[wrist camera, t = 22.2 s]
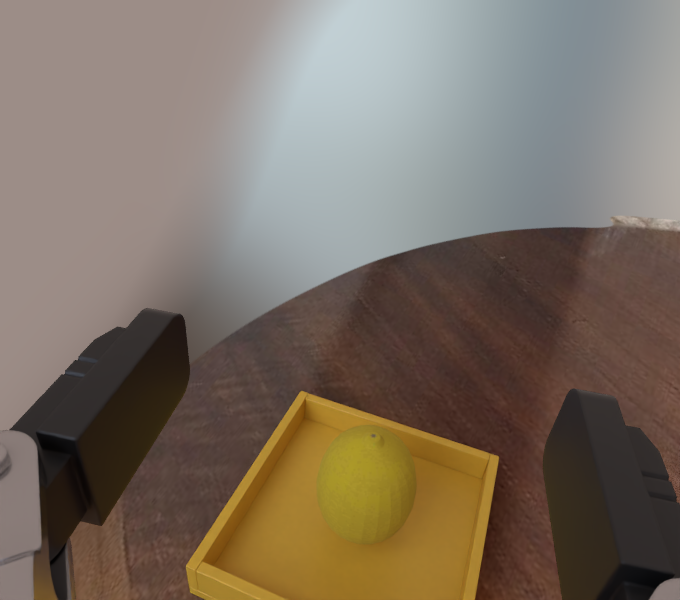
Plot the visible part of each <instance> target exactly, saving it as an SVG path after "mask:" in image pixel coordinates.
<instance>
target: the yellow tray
mask: <svg viewBox="0 0 680 600" xmlns="http://www.w3.org/2000/svg"><path fill="white" fill-rule="evenodd" d="M360 425H375V426H379V427H382V428H385V429H387V430H389V431H391V432H393V433H394V434H395V435H397V436H398V437H399V438H400V439H401V440H402V441H403V442H404V444H405V445H406V446H407V448H408V449H409V451H410V454H411V456H412V459H413V461H414V465H415V472H416V482H417V487H416V495H415V500H414V504H413V508H412V510H411V512H410V514H409V516H408V518H407V520H406V522H405V523H404V525H403V526H402V527H401V528H400V529H399V530H398V531H397V532H396V533H395V534H394V535H393V536H392V537H390V538H388V539H386V540H384V541H382V542H379V543H374V544H356V543H353V542H349V541H347V540H345V539H343V538H341V537H340V536H339V535H338V534H336V533H335V532H334V531H333V530H332V529H331V528H330V527H329V525H328V524H327V522H326V521H325V519H324V518H323V515H322V513H321V510H320V507H319V505H318V500H317V487H316V483H317V476H318V472H319V467H320V464H321V461H322V458H323V456H324V454H325V453H326V451H327V449H328V447H329V446H330V444H331V443H332V442H333V440H334V439H335V438H336V437H338V436H339V435H340V434H341V433H342V432H344V431H346V430H348V429H350V428H353V427H356V426H360ZM498 461H499V456H496V455H493V454H489V453H487V452H484V451H481V450H478V449H475V448H472V447H469V446H466V445H463V444H460V443H457V442H454V441H451V440H448V439H445V438H442V437H439V436H436V435H433V434H430V433H427V432H424V431H420V430H417V429H414V428H411V427H408V426H405V425H402V424H399V423H396V422H393V421H390V420H387V419H384V418H381V417H378V416H375V415H372V414H369V413H366V412H363V411H360V410H357V409H354V408H351V407H348V406H345V405H342V404H339V403H336V402H333V401H330V400H327V399H324V398H321V397H318V396H315V395H312V394H308V393H306V392H303V391H301V392H300V393H299V395H298V396H297V398H296V399H295V401H294V402H293V404H292V405H291V407H290V408H289V410H288V411H287V413H286V415H285V416H284V418H283V419H282V421H281V422H280V424H279V425H278V427H277V428H276V430H275V431H274V433H273V434H272V436H271V437H270V439H269V440H268V442H267V443H266V445H265V446H264V448H263V450H262V451H261V453H260V454H259V456H258V457H257V459H256V460H255V462H254V463H253V465H252V466H251V468H250V469H249V471H248V472H247V474H246V475H245V477H244V478H243V480H242V481H241V483H240V485H239V486H238V488H237V489H236V491H235V492H234V494H233V495H232V497H231V498H230V500H229V501H228V503H227V504H226V506H225V507H224V509H223V510H222V512H221V513H220V515H219V516H218V518H217V520H216V521H215V523H214V524H213V526H212V527H211V529H210V530H209V532H208V533H207V535H206V536H205V538H204V539H203V541H202V542H201V544H200V545H199V547H198V548H197V550H196V552H195V553H194V555H193V556H192V558H191V559H190V561H189V562H188V564H187V565H186V571H187V577H188V583H189V589H190V593H192V594H194V595H197V596H199V597H201V598H203V599H205V600H475V597H476V591H477V585H478V579H479V573H480V567H481V561H482V555H483V550H484V544H485V538H486V532H487V526H488V520H489V514H490V508H491V503H492V497H493V491H494V485H495V479H496V473H497V467H498Z"/></svg>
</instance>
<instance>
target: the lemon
mask: <svg viewBox="0 0 680 600" xmlns="http://www.w3.org/2000/svg"><path fill="white" fill-rule="evenodd" d="M316 487H317V500H318V505H319V507H320V510H321V513H322V515H323V518H324V519H325V521H326V522H327V524H328V525H329V527H330V528H331V529H332V530H333V531H334V532H335V533H336V534H338V535H339V536H340V537H341V538H343V539H345V540H347V541H349V542H353V543H356V544H374V543H379V542H382V541H384V540H386V539H388V538H390V537H392V536H393V535H394V534H395V533H396V532H397V531H398V530H399V529H400V528H401V527H402V526H403V525H404V523H405V522H406V520H407V518H408V516H409V514H410V512H411V510H412V508H413V504H414V500H415V495H416V487H417V482H416V472H415V465H414V461H413V459H412V456H411V454H410V451H409V449H408V448H407V446H406V445H405V444H404V442H403V441H402V440H401V439H400V438H399V437H398V436H397V435H395V434H394V433H393V432H391V431H389V430H387V429H385V428H382V427H379V426H375V425H360V426H356V427H353V428H350V429H348V430H346V431H344V432H342V433H341V434H340V435H339V436H338V437H336V438H335V439H334V440H333V442H332V443H331V444H330V446H329V447H328V449H327V451H326V453H325V454H324V456H323V458H322V461H321V464H320V467H319V472H318V476H317V483H316Z"/></svg>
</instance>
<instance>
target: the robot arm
mask: <svg viewBox="0 0 680 600" xmlns="http://www.w3.org/2000/svg"><path fill="white" fill-rule="evenodd" d="M189 375H190V365H189V356H188V346H187V337H186V327H185V320H184V318H183V316H182V315H181V314H177V313H171V312H166V311H161V310H156V309H150V308H146V309H144V310H142V311H141V312H140V313H139V314H138V316H137V317H136V318H135V319H134V320H133V321H132V322H131V323H130V325H129V326H128V327H127V328H121V327H116V328H114V329H112V330H111V331H109V332H107V333H105V334H104V335H102V336H100V337H99V338H97V339H95V340H94V341H93V342H92V343H91V344H90V345H89V346H88V347H87V348H86V349H85V350H84V351H83V352H82V353H81V355H80V356H79V358H78V360H75V361H74V362H73V363H72V364H71V365H70V366H69V367H68V368H67V370H65V374H64V375H61V376H60V377H59V378H58V379H57V380H56V382H54V383H53V384H52V385H51V386H50V388H49V389H48V390H47V391H46V392H45V393H44V394H43V395H42V396H41V397H40V398H39V399H38V400H37V401H36V402H35V404H34V405H33V406H32V407H31V408H30V409H29V410H28V411H27V412H26V413H25V414H24V415H23V416H22V417H21V418H20V419H19V421H18V422H17V423H16V424H15V425H14V426H13V427H12V428H11V429H10V430H3V431H0V600H76V591H75V580H74V569H73V558H72V547H71V541H70V536H71V534H72V533H73V531H74V530H75V528H76V527H77V525H78V524H79V522H80V521H83V522H87V523H91V524H95V525H99V526H102V525H103V523H104V522H105V520H106V518H107V517H108V515H109V514H110V512H111V510H112V509H113V507H114V506H115V504H116V502H117V501H118V499H119V498H120V496H121V495H122V493H123V491H124V490H125V488H126V487H127V485H128V483H129V482H130V480H131V479H132V477H133V475H134V474H135V472H136V471H137V469H138V467H139V466H140V464H141V463H142V461H143V459H144V458H145V456H146V455H147V453H148V451H149V450H150V448H151V447H152V445H153V443H154V442H155V440H156V439H157V437H158V435H159V434H160V432H161V431H162V429H163V427H164V426H165V424H166V423H167V421H168V419H169V418H170V416H171V415H172V413H173V411H174V410H175V408H176V407H177V405H178V403H179V402H180V400H181V399H182V397H183V395H184V393H185V391H186V388H187V385H188V381H189ZM543 473H544V480H545V487H546V494H547V500H548V507H549V514H550V520H551V527H552V534H553V541H554V547H555V554H556V561H557V567H558V574H559V581H560V588H561V594H562V600H680V504H679V503H678V502H676V499H677V496H676V494H675V491H674V488H673V486H672V483H671V482H670V481H669V480H668V478H669V475H668V473H667V470H666V468H665V465H664V462H663V460H662V457H661V455H660V452H659V451H658V449H657V448H656V447H655V446H654V445H653V443H652V442H651V441H650V440H649V439H648V437H647V436H646V435H645V434H644V433H643V432H642V430H641V429H640V428H636V427H631V426H626V425H625V423H624V420H623V417H622V414H621V411H620V408H619V405H618V402H617V400H616V398H615V397H614V396H611V395H606V394H600V393H595V392H589V391H584V390H579V389H571V390H570V391H569V392H568V394H567V396H566V398H565V400H564V403H563V405H562V407H561V410H560V412H559V414H558V416H557V419H556V421H555V423H554V425H553V428H552V430H551V432H550V434H549V437H548V439H547V442H546V445H545V449H544V456H543Z"/></svg>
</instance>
